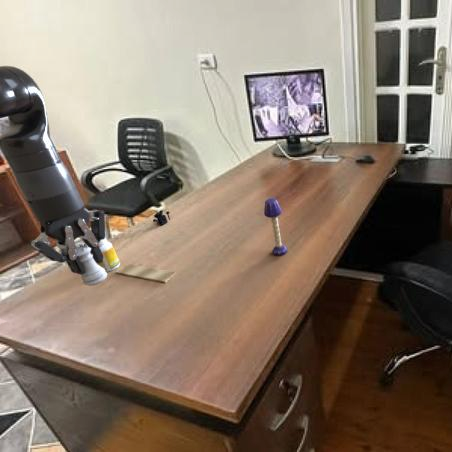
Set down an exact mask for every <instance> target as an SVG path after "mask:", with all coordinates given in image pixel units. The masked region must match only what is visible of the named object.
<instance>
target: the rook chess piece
mask: <svg viewBox="0 0 452 452" xmlns="http://www.w3.org/2000/svg"><path fill="white" fill-rule="evenodd" d="M78 245H79V247H78V246H77V245H76V247H75V252H76V256H77V257H78V258H79V259H80V261H81V263H82V265H83V267H84V269H85V271H86V273H85V274H83V275H80V280H81V281H82V284H83V285H86V286H96V285H99V284H101V283H103V282H104V281H105V280H106V279H107V278H108V272H105V269H104V268H103V267H101V266H99V265H98V264H97V263H96V262H95V260H94V259H93V254H91V253H90V251H91V248H90V247H88V246H87V245H86V244H84V243H83V244H82V243H81V244H78Z"/></svg>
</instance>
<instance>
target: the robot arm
mask: <svg viewBox="0 0 452 452" xmlns="http://www.w3.org/2000/svg"><path fill="white" fill-rule="evenodd" d="M3 118H7V120H8V129H7V130H6V131H5V132H4V133H2V134H0V153H1V154H2V156H3V158H4V160H5V162H6V163H7V165H8V167H9V169H10V170H11V172H12V174H13V177H14V179H15V182H16V184H17V187H18V188H19V190H20V192H21V194H22V195H23V198H24V199H25V201H26V203H27V204H28V206H29V208H30V210H31V212H32V213H33V215H34V217H35V220H37V222H38V223H39V225H40V229H39V230H40V234H39V235H38V236H37V237H36V238H35V239H31V240H29V241H28V246H29V247H30V248H32V249H34V250H35V251H36V252H38V253H40V254H41V255H43V256H45V257H46V258H47V259H49V260H50V261H52V262H58V263H60V264H65V263H66V264H67V266H68V268H69V269H70V272H72V273H73V274H76V275H80V276H82V275H83V274H85V273H86V271H85V269H84V267H83V265H82V263H81V261H80V259H79V258H78V257H77V256H76V252H75V247H76V246H77V244H76V241H75V240H76V239H78V238H79V239H80V240H81V241H82V243H83V245H84V244H86V245H87V246H88V247H90V248H91V251H90V253H91V254H93V259H94V260H95V262H96V263H99V264H100V263H102V262H103V254H102V252H101V250H100V248H99V242H100V241H101V240H103V239H104V238H105V237H106V217H105V216H106V215H105V211H104V210H100V209H91V210H88V209H87V208H86V207H85V203H84V200H83V199H82V197H81V195H80V193H79V190H78V188H77V186H76V184H75V181H74V179H73V177H72V175H71V173H70V171H69V170H68V168H67V167H66V165H65V163H64V162H63V160H62V158H61V156H60V154H59V152H58V150H57V148H56V145H55V144H54V141H53V140H52V137H51V133H50V124H49V117H48V113H47V107H46V103H45V98H44V95H43V93H42V90H41V88H40V87H39V85H38V83H37V82H36V81H35V80H34V78H32V76H31V75H30V74H28V73H27V72H26V71H24V70H22V69H21V68H19V67H16V66H12V65H0V119H3ZM89 223H90V227H89ZM49 238H50V239H53V240H55V244H56V247H57V248H58V250H59V251H58V250H56V249H54V248H53V247H52V246H51V245H52V243H51V242H50V240H49Z"/></svg>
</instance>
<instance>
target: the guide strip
mask: <svg viewBox="0 0 452 452" xmlns="http://www.w3.org/2000/svg"><path fill="white" fill-rule="evenodd" d="M115 274H117V275H122V276H126V277H133V278H138V279H142V280H147V281H153V282H159V283H162V284H163V283H164V284H166V283H168V282H169V281H170V280H171V279H172V278H174V277H175V276H176V275H177V272H175V271H171V270H170V271H169V270H164V269H158V268H152V267H148V266H142V265H137V264H130V263H126V264H124V265H123V266H122V267H120V268H118V269H117V270H116V271H115Z"/></svg>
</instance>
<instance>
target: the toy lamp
mask: <svg viewBox="0 0 452 452" xmlns="http://www.w3.org/2000/svg"><path fill="white" fill-rule="evenodd" d="M282 212H283V211H282V208H281V206H280V205H279V203H278V200H277V199H276V198H267V199H265V202H264V211H263V214H264V215H263V216H265V217H266V218H270V221H271V224H272V225H271V226H272V231H273V237H274V242H275V246H274V247H273V249H272V254H273V255H274V256H277V257H282V256H284V255H286V254H287V253H288V247H286V246H285V245H284V244H283V243H282V237H281V233H280V227H279V225H280V224H279V219H278V217H279V216H280V215H281V214H282Z"/></svg>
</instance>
